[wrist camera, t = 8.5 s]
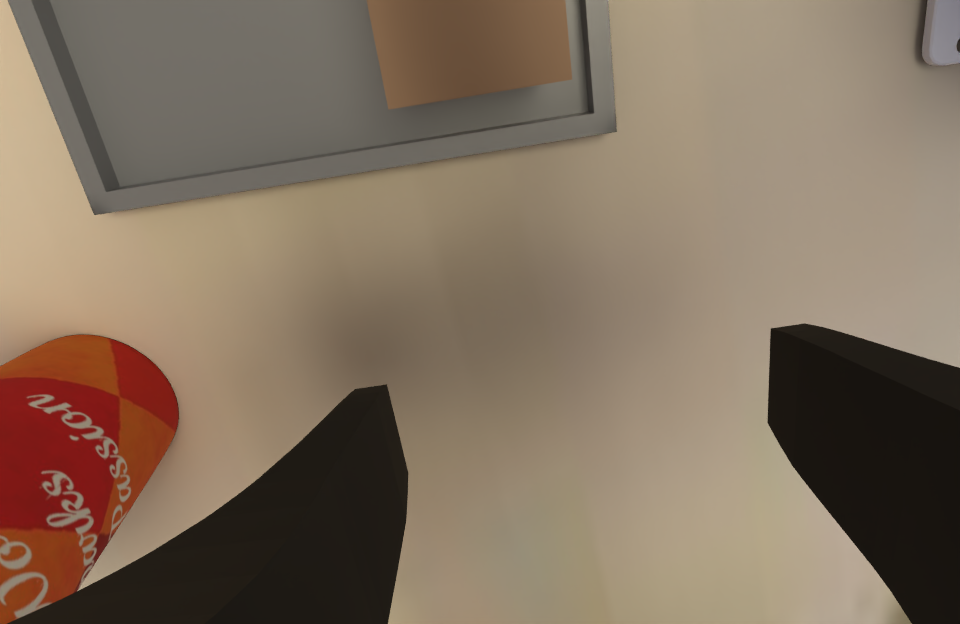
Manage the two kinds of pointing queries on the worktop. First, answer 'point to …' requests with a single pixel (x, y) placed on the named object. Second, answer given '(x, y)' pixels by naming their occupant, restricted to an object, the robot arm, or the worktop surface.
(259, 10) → the parts tray
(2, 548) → the paper cup
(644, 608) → the worktop surface
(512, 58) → the walnut block
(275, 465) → the robot arm
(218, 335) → the worktop surface
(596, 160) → the worktop surface
